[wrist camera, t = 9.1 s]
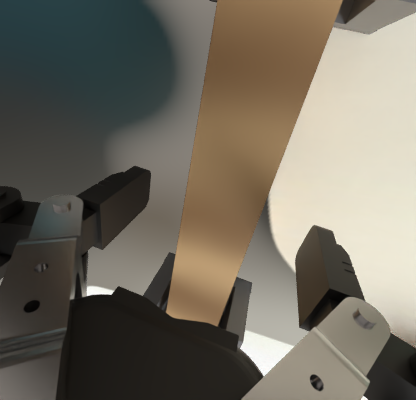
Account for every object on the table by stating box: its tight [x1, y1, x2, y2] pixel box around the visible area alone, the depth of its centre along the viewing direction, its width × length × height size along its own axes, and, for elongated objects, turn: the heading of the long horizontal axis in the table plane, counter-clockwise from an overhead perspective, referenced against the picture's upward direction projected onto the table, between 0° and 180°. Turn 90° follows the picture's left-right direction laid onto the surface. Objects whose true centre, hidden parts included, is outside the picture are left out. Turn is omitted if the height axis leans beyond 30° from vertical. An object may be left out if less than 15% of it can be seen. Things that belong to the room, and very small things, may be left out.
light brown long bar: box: [166, 0, 343, 326], centre depth 13 cm, size 22×4×4 cm, turn 168°
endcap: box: [143, 253, 252, 348], centre depth 19 cm, size 5×7×5 cm
